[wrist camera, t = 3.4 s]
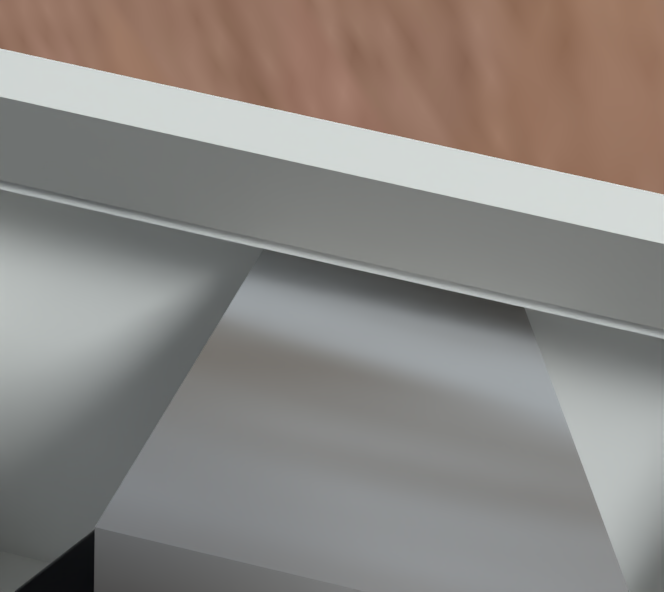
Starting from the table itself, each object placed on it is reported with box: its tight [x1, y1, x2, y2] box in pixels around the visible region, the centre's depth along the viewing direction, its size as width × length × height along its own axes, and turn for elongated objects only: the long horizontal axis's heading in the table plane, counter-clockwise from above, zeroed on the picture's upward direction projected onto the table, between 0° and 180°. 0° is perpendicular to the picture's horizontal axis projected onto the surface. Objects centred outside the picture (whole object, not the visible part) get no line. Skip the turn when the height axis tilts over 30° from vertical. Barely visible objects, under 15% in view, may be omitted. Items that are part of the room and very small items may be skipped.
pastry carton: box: [0, 49, 664, 592], centre depth 9 cm, size 12×15×4 cm
